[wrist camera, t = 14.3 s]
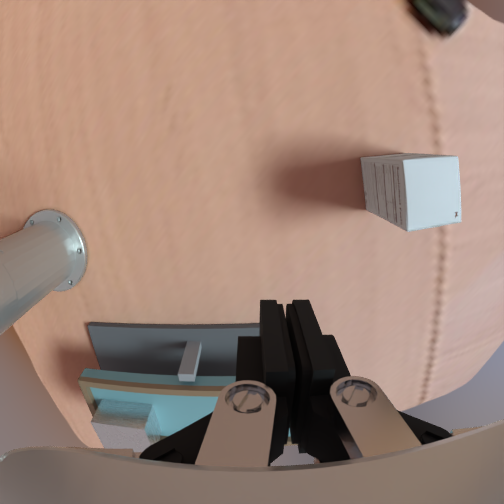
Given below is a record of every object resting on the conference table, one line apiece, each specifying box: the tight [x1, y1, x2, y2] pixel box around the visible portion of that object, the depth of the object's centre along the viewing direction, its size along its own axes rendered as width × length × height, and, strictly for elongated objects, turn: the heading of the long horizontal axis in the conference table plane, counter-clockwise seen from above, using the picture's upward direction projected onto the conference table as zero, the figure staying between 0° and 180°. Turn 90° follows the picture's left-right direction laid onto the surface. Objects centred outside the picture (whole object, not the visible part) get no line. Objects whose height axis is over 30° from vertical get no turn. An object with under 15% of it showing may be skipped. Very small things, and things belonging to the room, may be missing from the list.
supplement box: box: [360, 153, 461, 232], centre depth 33 cm, size 7×7×13 cm
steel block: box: [91, 399, 162, 452], centre depth 37 cm, size 8×6×5 cm
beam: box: [78, 368, 298, 446], centre depth 40 cm, size 32×12×3 cm, turn 92°
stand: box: [88, 322, 260, 382], centre depth 44 cm, size 34×20×9 cm, turn 92°
